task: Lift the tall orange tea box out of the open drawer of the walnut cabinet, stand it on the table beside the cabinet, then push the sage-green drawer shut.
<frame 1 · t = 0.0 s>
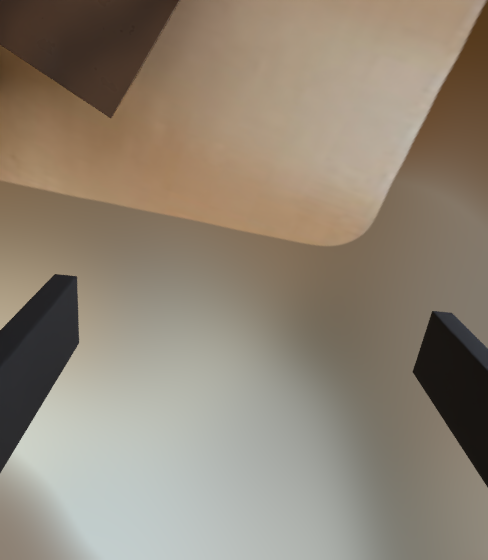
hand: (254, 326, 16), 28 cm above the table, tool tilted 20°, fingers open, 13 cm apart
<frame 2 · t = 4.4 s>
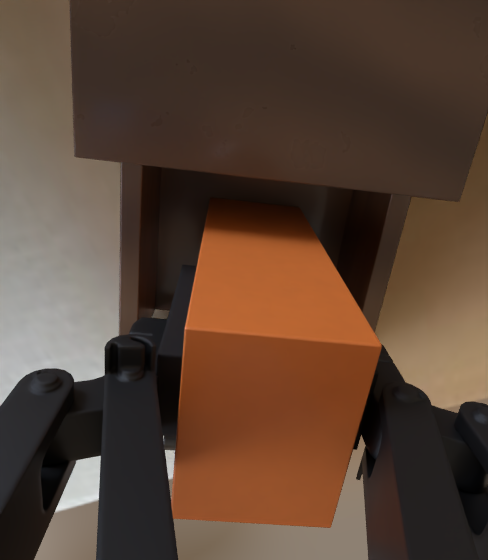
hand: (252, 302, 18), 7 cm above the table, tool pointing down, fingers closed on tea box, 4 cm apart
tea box: (248, 258, 23), point 2 cm above the table, touching drawer, gripper
drawer: (247, 294, 21), point 4 cm above the table, slide at 10.0 cm, touching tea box
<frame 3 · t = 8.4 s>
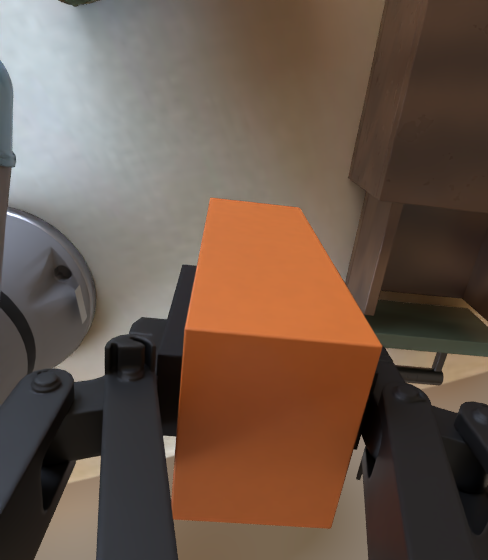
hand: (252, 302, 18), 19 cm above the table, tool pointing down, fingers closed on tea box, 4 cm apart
cabinet: (458, 84, 33), on the table
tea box: (248, 258, 23), point 14 cm above the table, touching gripper
drawer: (427, 277, 35), point 4 cm above the table, slide at 10.0 cm
when the fingers open (5 cm above the table, at t = 12.4 s): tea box stays where it is, on the table.
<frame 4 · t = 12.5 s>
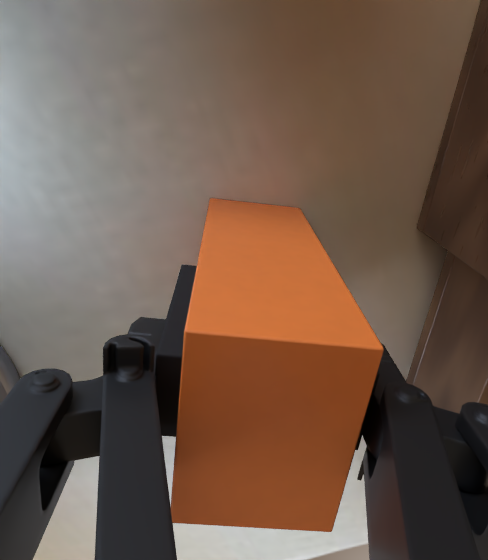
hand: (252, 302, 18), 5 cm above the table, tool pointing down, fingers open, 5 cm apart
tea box: (247, 259, 23), on the table
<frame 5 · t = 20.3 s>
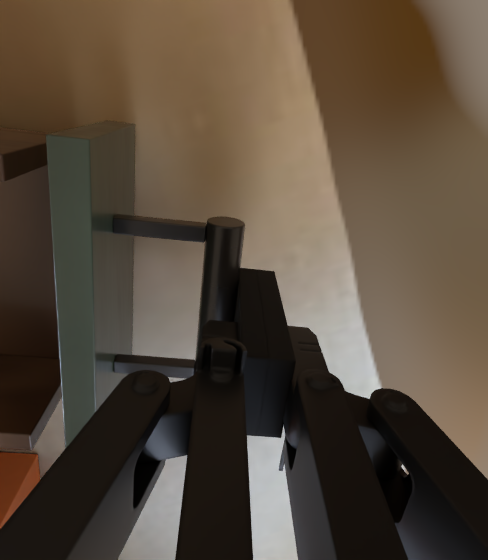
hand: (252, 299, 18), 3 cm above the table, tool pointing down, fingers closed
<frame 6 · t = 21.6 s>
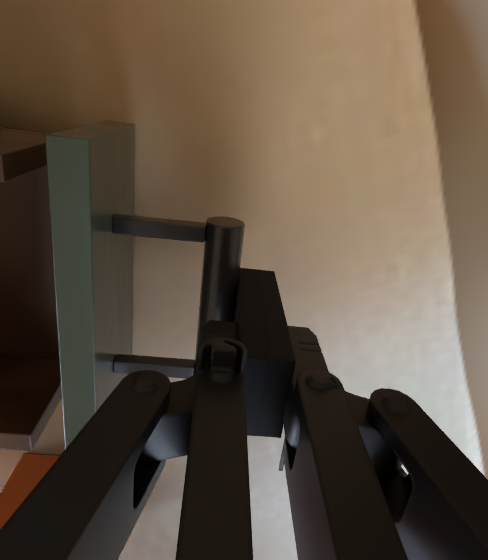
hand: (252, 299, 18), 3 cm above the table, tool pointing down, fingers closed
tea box: (77, 484, 27), on the table
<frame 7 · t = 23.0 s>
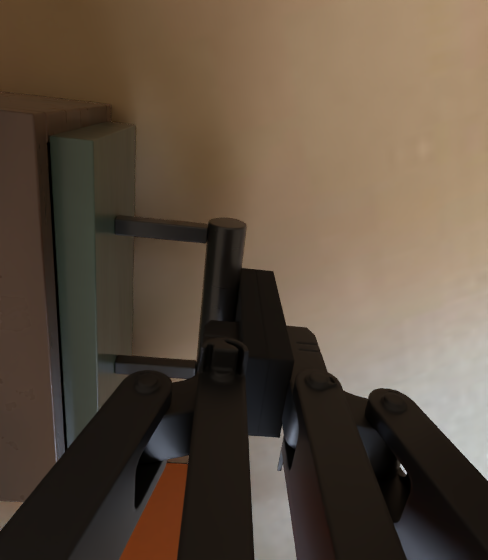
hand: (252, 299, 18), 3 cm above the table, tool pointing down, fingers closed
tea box: (156, 489, 27), on the table
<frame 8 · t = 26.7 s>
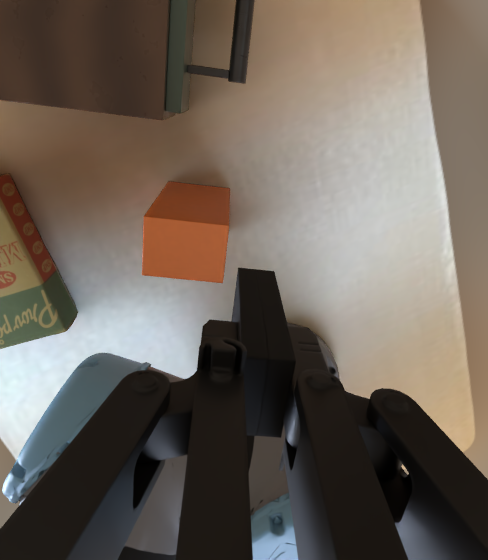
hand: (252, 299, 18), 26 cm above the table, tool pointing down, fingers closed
cabinet: (87, 17, 37), on the table
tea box: (197, 207, 43), on the table
carton: (12, 258, 45), on the table
drawer: (126, 17, 33), point 4 cm above the table, slide at 0.0 cm, touching cabinet
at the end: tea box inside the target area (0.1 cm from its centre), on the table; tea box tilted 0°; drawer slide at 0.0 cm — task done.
